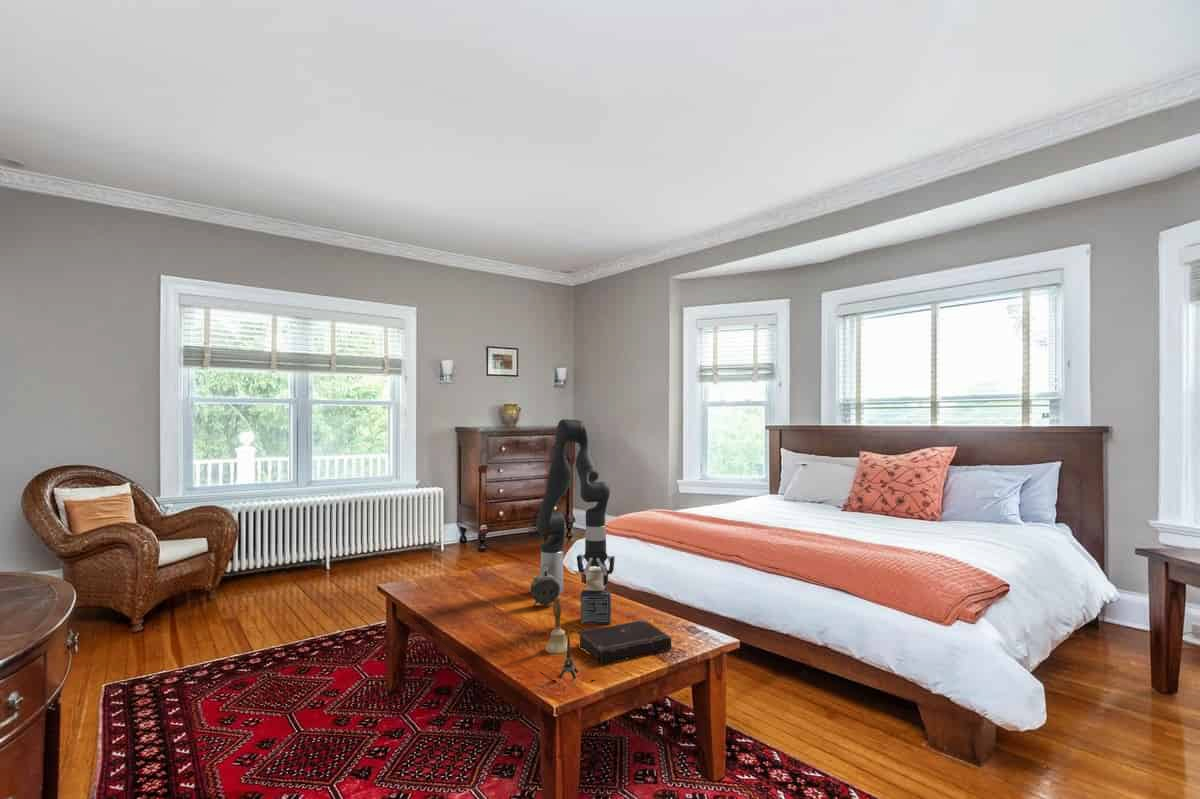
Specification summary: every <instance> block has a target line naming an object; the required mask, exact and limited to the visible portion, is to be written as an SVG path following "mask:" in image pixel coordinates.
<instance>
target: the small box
mask: <svg viewBox="0 0 1200 799" xmlns="http://www.w3.org/2000/svg"><path fill="white" fill-rule="evenodd" d="M611 621H612V593H611V589H603V590H592V589H582V591H581V592H580V623H581V622H583V623H602V624H601V625H610V624H611Z"/></svg>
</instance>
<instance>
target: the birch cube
mask: <svg viewBox="0 0 1200 799" xmlns="http://www.w3.org/2000/svg"><path fill="white" fill-rule="evenodd" d="M605 587H606V586H604V574H603V571H602V570H601V568H600V567H596V568H595V567H590V569H589V570H588V571H587V572H586V583H585V590H605Z"/></svg>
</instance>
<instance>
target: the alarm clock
mask: <svg viewBox="0 0 1200 799" xmlns="http://www.w3.org/2000/svg"><path fill="white" fill-rule="evenodd" d="M544 565H548V564H544ZM544 565H543V566H544ZM543 566H542V568H543ZM548 566H549V565H548ZM542 568H541V567H540V570H541V569H542ZM549 570H550V566H549ZM549 570H548V571H549ZM548 571H545V572H544V573H545V574H541V575H540V574H539V575H537V576H536V577H535V578H534V579H533V580H532V582H531V585H530V594H531V596H532V598H533V599H534V600H535V603H534V604H533V605H532V606H533V607H536V605H537V604H540V605H543V606H545V608H546V609H547V608H548V605H550V604H552V603H554V601H555V598H559V595H560V594H559V593H560V585H559V583H558V581H557V580H556V579H555V577H553V576H552V575H550V574H547V572H548ZM542 572H543V570H542Z"/></svg>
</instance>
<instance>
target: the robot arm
mask: <svg viewBox="0 0 1200 799" xmlns="http://www.w3.org/2000/svg"><path fill="white" fill-rule="evenodd" d="M555 430H556V432H555V436H554V438H555V439H554V446H553V455H552V458H551V462H550V467H549V470H548V475H547V479H546V487H545V489H544V490H545V491H544V494H543V499H542V502H541V505H540V509H539V510H538V511H539V512H538V514H537V520H536V530H537V533H538V534H539V535H540V536H550V537H549V538H548V539H547V540H546V541H544V542H542V543H541V545H540V569H539V575H541V574H545V573H544V572H545V571H548V570H549V566H550V570H549V571H548V572H547V574H550V575H552V576H553V577H555V579H556V580H557V581H558V583H559V585H560V593H559V595H561V594H563V593H564V588H565V587H564V545H565V531H566V521H565V517H564V514H563V512H561V511H557V510H556V511H554V509H555V507H556V506H557V504H558V503H559V501H561V499H562V498H563V497H564V496H565V495H566V493H567V491H568V490H569V489H570V488H569V487H570V483H571V480H572V476H573V473H572V472H573V471H572V468H571V465H570V463H569V460H568V459H567V457H566V449H565V448H566V444H568V443H569V444H578V445H579V451H578V452H577V453H578V454H577V456H576V458H575V469H576V471H577V474H578V477H579V482H580V493H579V495H580V497H581V499H582V501H583V502H586V503H596V505H595V506H594V507H591V508H588V509H586V510H585V530H584V544H585V545H584V546H585V547H584V549H585V550H584V551H585V552H584V554H578V555H577V556H576V561H577V570H578V573H581V574H583V582H584V584H586V572H587V571H588V570H589V569H590V568H595V567H596V568H601V570H602V571H603V574H604V586H605V587H606V586H607V585H608V583H609V575H612V574H613V572H614V568H615V559H616V556H615V555H612V556H611V555H608V554H607V530H606V511H607V506H608V502H609V499H610V492H611V490H610V487H609V485H608V483H607V482H605V481H597V480H598V478H599V472H598V469H597V466H596V464H595V462H594V459H593V455H592V451H591V444H590V439H589V434H588V430H587V426H586V424H585V422H584V421H582V420H579V419H567V418H566V419H564V418H563V419H560V420H559V421H558V423H557V427H556V429H555ZM584 560H585V561H586V562H587V564H586V565H585V567H584V563H583V561H584ZM606 560H607V562H608V563H609V566H608V568H607V565H606ZM544 564H548V565H549V566H548V565H544ZM543 565H544V566H543ZM542 566H543V568H542ZM541 568H542V569H541ZM542 570H543V572H542Z"/></svg>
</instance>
